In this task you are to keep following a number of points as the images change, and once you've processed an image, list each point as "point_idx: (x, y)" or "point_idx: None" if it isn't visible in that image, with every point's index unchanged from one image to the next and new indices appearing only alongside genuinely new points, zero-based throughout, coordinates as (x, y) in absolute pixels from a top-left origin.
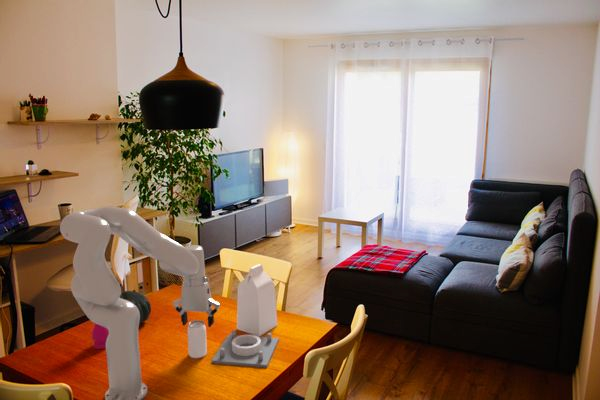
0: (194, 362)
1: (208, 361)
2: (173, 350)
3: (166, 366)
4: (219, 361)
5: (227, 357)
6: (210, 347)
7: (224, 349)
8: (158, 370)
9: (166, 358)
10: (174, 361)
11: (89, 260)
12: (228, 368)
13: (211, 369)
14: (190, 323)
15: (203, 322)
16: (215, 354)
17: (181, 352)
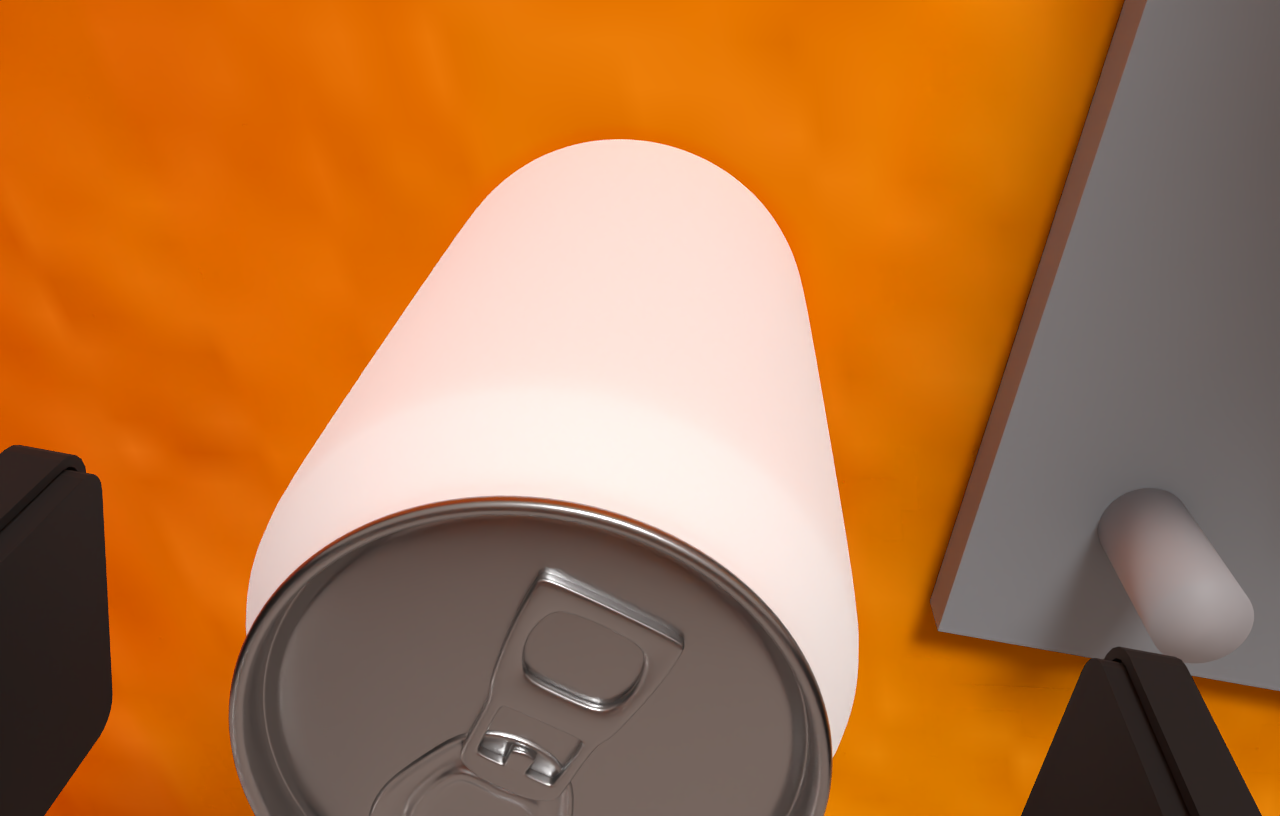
0: None
1: (866, 551)
2: (79, 136)
3: (199, 659)
4: (1081, 650)
5: (1242, 556)
6: (850, 13)
7: (1197, 249)
8: (127, 749)
9: (85, 430)
10: None
11: None
12: None
13: (940, 767)
14: (273, 637)
15: (783, 650)
16: (1001, 445)
17: (275, 223)
